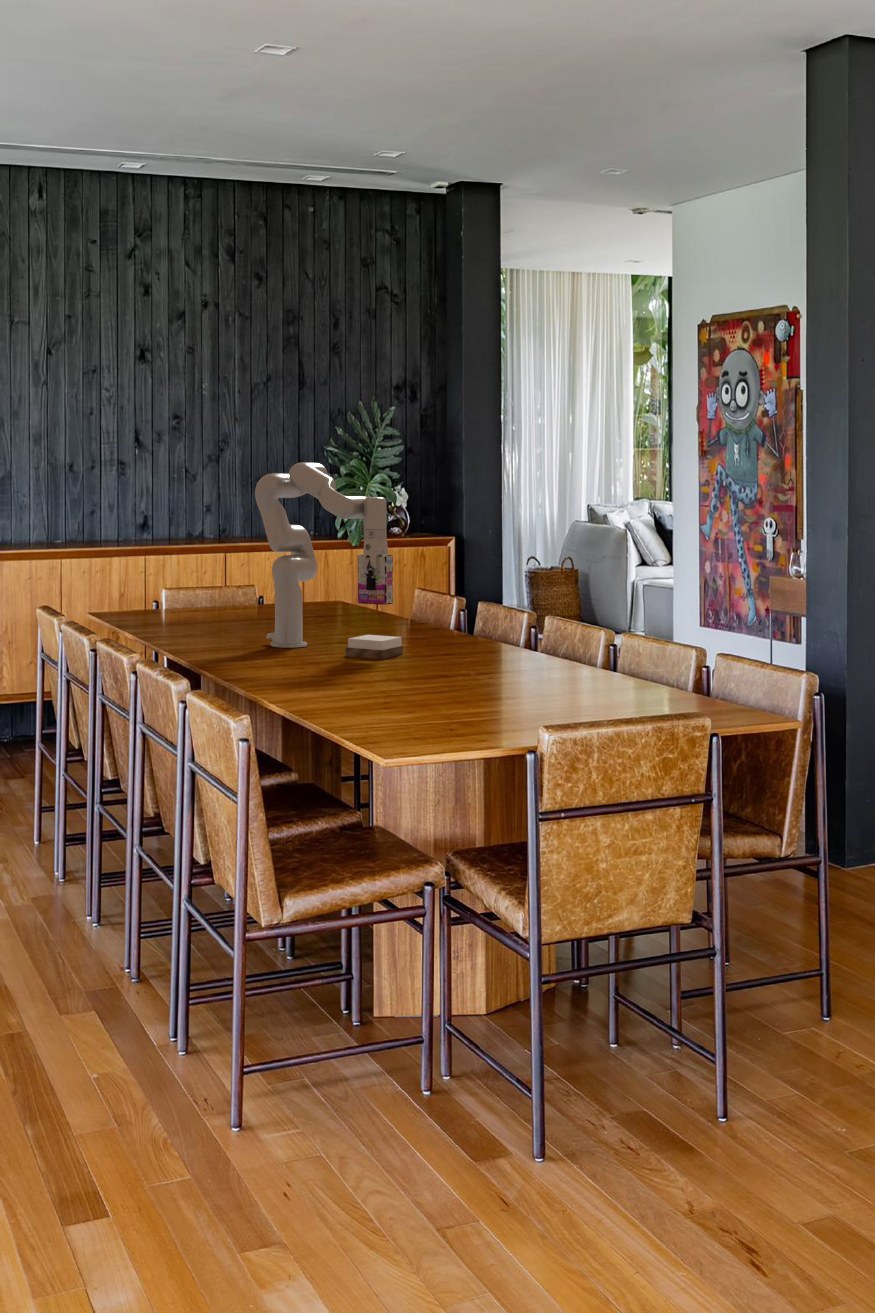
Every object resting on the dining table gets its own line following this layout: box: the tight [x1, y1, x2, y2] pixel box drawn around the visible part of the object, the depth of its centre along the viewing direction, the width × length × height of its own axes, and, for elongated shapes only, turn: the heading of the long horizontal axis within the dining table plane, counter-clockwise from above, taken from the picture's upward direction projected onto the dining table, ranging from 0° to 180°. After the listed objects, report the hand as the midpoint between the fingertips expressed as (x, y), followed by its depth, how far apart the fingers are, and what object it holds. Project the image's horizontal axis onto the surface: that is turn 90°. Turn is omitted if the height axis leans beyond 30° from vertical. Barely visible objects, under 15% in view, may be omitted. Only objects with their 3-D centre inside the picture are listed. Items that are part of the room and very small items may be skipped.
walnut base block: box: [345, 645, 404, 660], centre depth 472 cm, size 14×14×4 cm
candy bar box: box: [357, 553, 394, 606], centre depth 469 cm, size 11×5×16 cm, turn 62°
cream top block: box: [347, 634, 403, 650], centre depth 471 cm, size 13×13×3 cm
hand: (375, 588), depth 469 cm, fingers closed on candy bar box, 5 cm apart
